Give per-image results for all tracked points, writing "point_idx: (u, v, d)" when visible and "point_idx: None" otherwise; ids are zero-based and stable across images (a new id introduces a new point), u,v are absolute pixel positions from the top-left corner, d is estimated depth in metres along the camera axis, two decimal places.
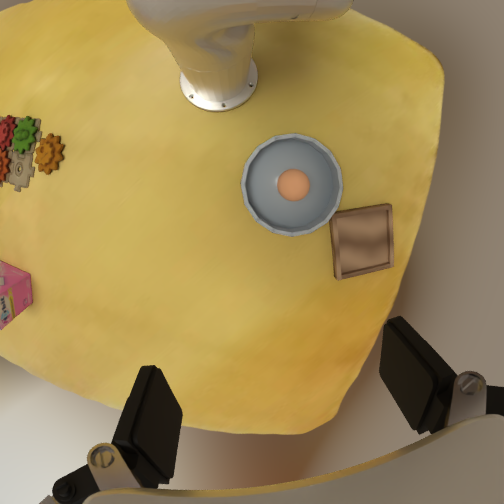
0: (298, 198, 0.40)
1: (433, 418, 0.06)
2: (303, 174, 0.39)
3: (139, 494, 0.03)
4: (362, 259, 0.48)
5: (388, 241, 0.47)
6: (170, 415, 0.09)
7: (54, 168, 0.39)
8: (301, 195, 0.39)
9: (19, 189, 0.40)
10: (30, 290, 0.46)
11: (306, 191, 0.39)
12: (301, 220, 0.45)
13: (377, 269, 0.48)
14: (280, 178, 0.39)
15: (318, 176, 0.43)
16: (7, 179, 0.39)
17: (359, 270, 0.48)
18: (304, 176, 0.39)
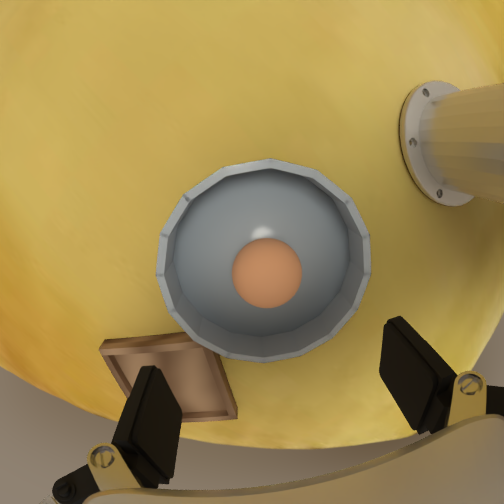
0: (240, 288, 0.18)
1: (433, 418, 0.06)
2: (292, 296, 0.19)
3: (139, 494, 0.03)
4: None
5: None
6: (170, 415, 0.09)
7: None
8: (246, 296, 0.18)
9: None
10: None
11: (256, 304, 0.19)
12: (191, 285, 0.22)
13: None
14: (283, 247, 0.18)
15: (280, 311, 0.24)
16: None
17: (123, 379, 0.25)
18: (289, 298, 0.19)
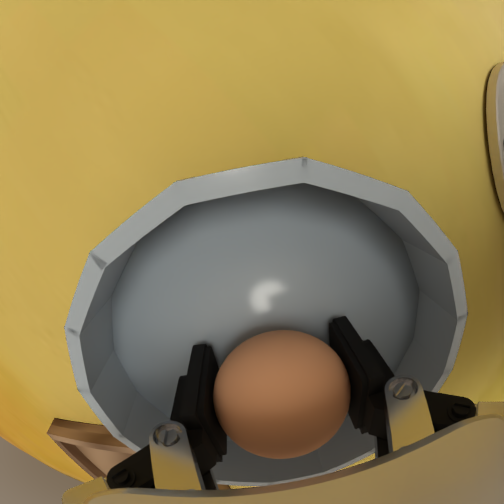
0: (230, 436, 0.08)
1: (368, 418, 0.07)
2: None
3: (139, 494, 0.03)
4: (109, 467, 0.15)
5: None
6: None
7: None
8: (243, 448, 0.08)
9: None
10: None
11: None
12: (149, 384, 0.12)
13: None
14: (321, 364, 0.08)
15: None
16: None
17: (85, 463, 0.14)
18: None
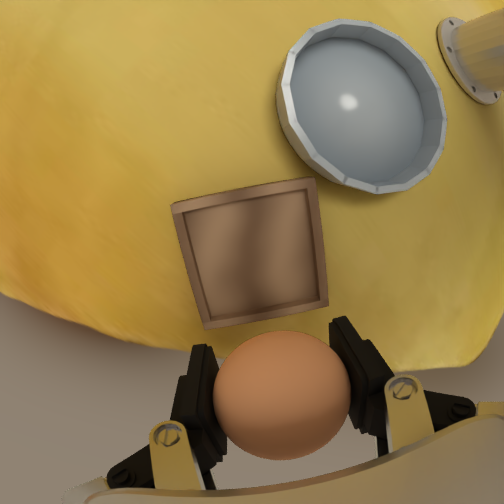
0: (230, 437, 0.08)
1: (368, 418, 0.07)
2: None
3: (139, 494, 0.03)
4: (216, 259, 0.24)
5: (255, 310, 0.26)
6: None
7: None
8: (243, 449, 0.07)
9: None
10: None
11: None
12: (299, 119, 0.21)
13: (197, 295, 0.24)
14: (322, 365, 0.08)
15: (377, 156, 0.22)
16: None
17: (192, 254, 0.23)
18: None
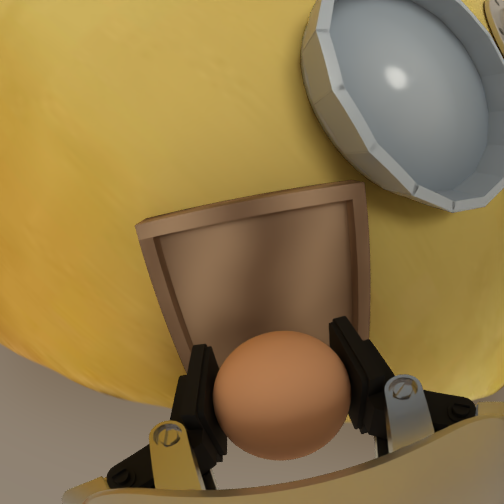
0: (230, 438, 0.08)
1: (368, 418, 0.07)
2: None
3: (139, 494, 0.03)
4: (209, 305, 0.16)
5: None
6: None
7: None
8: None
9: None
10: None
11: None
12: None
13: (183, 355, 0.16)
14: (322, 365, 0.08)
15: (442, 154, 0.13)
16: None
17: (173, 300, 0.15)
18: None
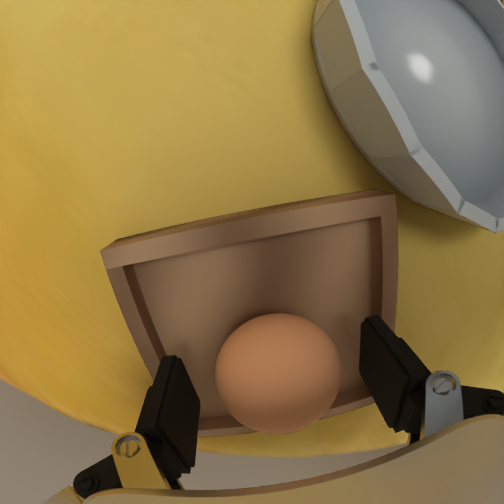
0: (230, 411, 0.09)
1: (406, 416, 0.07)
2: None
3: (139, 494, 0.03)
4: (198, 346, 0.12)
5: None
6: (190, 404, 0.10)
7: None
8: (242, 423, 0.09)
9: None
10: None
11: None
12: None
13: None
14: (313, 342, 0.09)
15: (476, 159, 0.10)
16: None
17: (153, 340, 0.12)
18: None
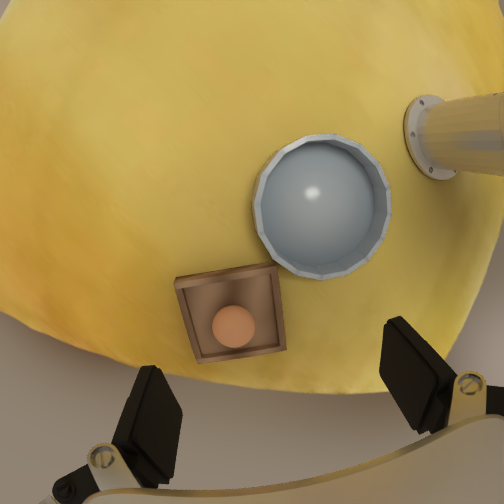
0: (216, 336, 0.30)
1: (433, 418, 0.06)
2: (248, 341, 0.30)
3: (139, 494, 0.03)
4: (206, 318, 0.33)
5: (233, 351, 0.35)
6: (170, 415, 0.09)
7: None
8: (220, 341, 0.30)
9: None
10: None
11: (226, 345, 0.30)
12: (268, 221, 0.31)
13: (192, 341, 0.33)
14: (242, 314, 0.30)
15: (328, 244, 0.32)
16: None
17: (189, 315, 0.32)
18: (245, 343, 0.30)
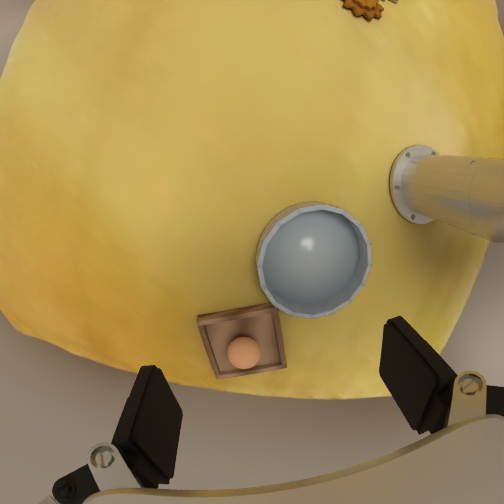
0: (230, 361, 0.38)
1: (433, 418, 0.06)
2: (255, 364, 0.38)
3: (139, 494, 0.03)
4: (222, 345, 0.42)
5: (245, 369, 0.43)
6: (170, 415, 0.09)
7: (346, 4, 0.26)
8: (233, 364, 0.38)
9: None
10: None
11: None
12: (269, 273, 0.38)
13: (212, 363, 0.42)
14: (250, 345, 0.38)
15: (319, 288, 0.39)
16: None
17: (209, 343, 0.41)
18: None
